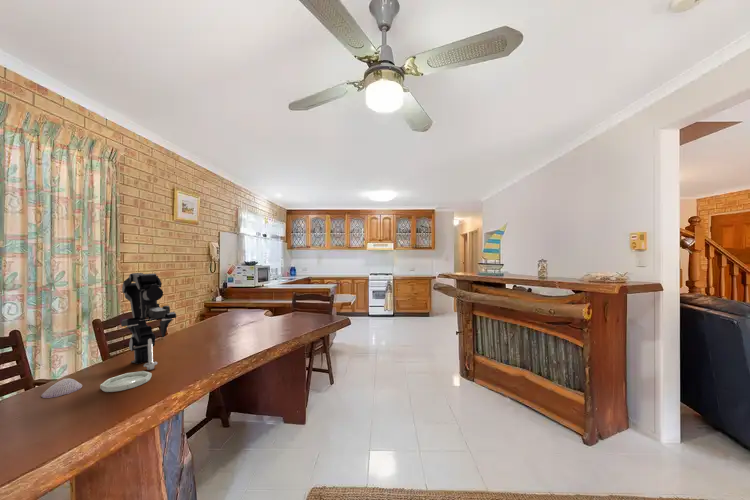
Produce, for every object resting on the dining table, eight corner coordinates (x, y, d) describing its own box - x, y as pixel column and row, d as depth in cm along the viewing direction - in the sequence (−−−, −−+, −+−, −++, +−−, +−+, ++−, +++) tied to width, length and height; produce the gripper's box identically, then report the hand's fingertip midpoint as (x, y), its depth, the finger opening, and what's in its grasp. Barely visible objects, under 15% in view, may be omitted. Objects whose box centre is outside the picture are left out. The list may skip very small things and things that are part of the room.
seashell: (87, 375, 118) (77, 378, 109) (86, 390, 117) (75, 394, 108) (50, 380, 113) (37, 384, 105) (49, 396, 112) (35, 401, 103)
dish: (94, 387, 112) (93, 383, 112) (138, 373, 125) (138, 369, 125) (113, 394, 106) (113, 390, 106) (158, 378, 119) (158, 374, 119)
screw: (158, 365, 133) (157, 369, 129) (144, 368, 131) (142, 372, 127) (157, 336, 133) (156, 338, 129) (143, 338, 131) (142, 340, 127)
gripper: (133, 303, 119) (136, 343, 118) (182, 297, 136) (185, 333, 134) (119, 306, 124) (121, 345, 123) (167, 300, 141) (170, 335, 139)
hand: (151, 339), depth 130 cm, fingers open, 9 cm apart
